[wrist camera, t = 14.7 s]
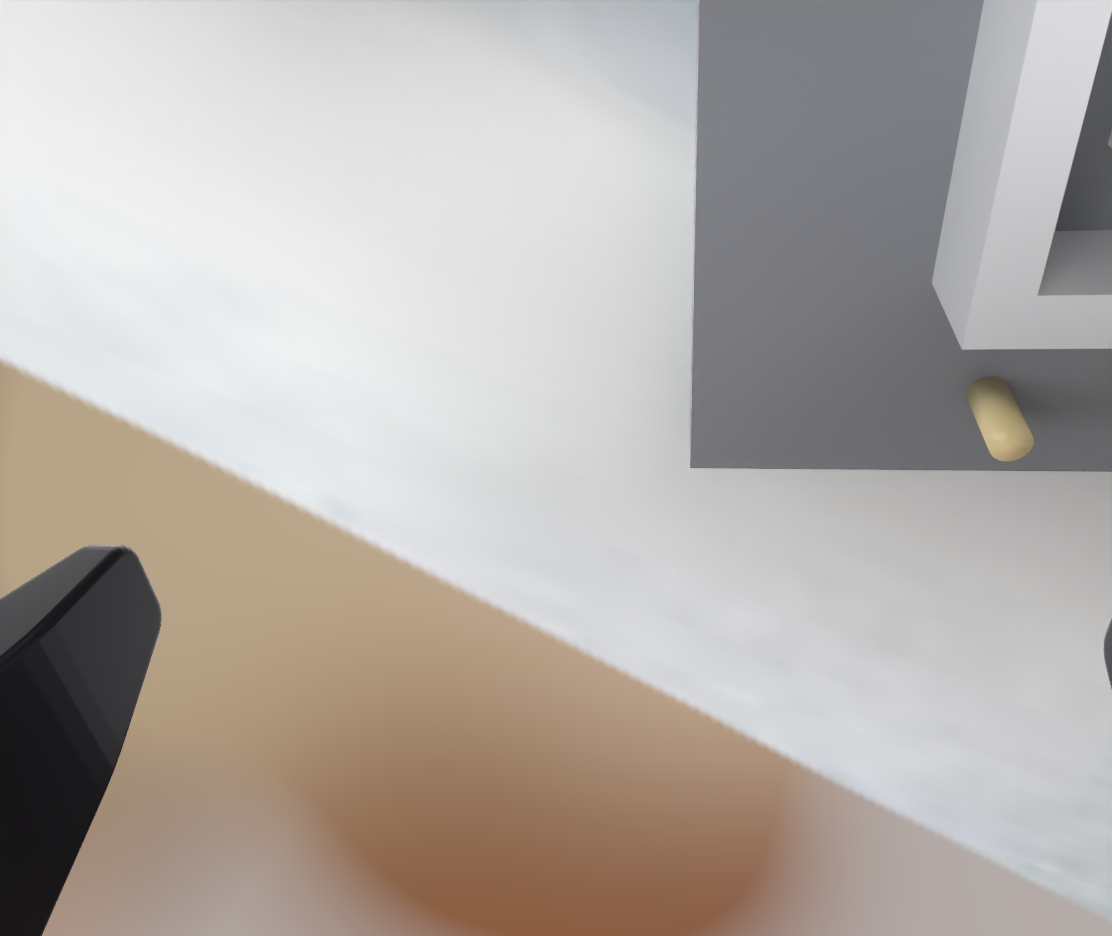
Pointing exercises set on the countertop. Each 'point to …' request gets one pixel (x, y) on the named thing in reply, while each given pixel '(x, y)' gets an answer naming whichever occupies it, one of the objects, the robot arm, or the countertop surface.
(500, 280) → the countertop surface
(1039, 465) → the header dock
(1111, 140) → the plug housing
